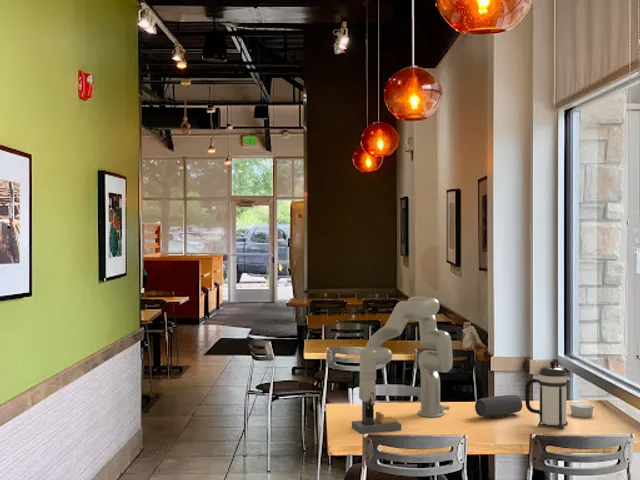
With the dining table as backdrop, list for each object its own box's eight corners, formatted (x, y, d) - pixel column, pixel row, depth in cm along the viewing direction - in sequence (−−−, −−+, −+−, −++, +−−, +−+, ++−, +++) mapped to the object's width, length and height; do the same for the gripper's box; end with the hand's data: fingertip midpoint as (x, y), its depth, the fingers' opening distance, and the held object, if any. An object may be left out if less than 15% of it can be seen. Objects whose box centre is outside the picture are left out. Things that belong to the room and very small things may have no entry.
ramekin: (586, 419, 345) (586, 408, 345) (565, 415, 353) (565, 404, 353) (598, 415, 352) (598, 404, 352) (576, 411, 360) (576, 401, 360)
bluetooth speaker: (510, 412, 360) (510, 392, 360) (523, 416, 351) (523, 395, 351) (474, 416, 350) (473, 396, 350) (486, 421, 342) (486, 400, 342)
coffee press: (558, 420, 342) (558, 357, 342) (576, 429, 326) (575, 363, 326) (524, 422, 339) (524, 359, 339) (540, 430, 323) (540, 364, 324)
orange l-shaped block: (390, 418, 334) (390, 410, 334) (397, 422, 327) (397, 414, 327) (375, 420, 332) (375, 411, 332) (381, 424, 324) (381, 415, 324)
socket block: (391, 424, 336) (391, 417, 336) (401, 430, 325) (401, 423, 325) (351, 427, 330) (351, 421, 330) (360, 434, 319) (360, 427, 319)
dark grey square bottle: (370, 421, 329) (370, 395, 329) (373, 423, 325) (373, 397, 325) (362, 422, 328) (362, 395, 328) (365, 424, 324) (365, 397, 324)
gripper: (353, 373, 333) (353, 412, 333) (367, 379, 317) (367, 421, 317) (368, 372, 336) (368, 411, 335) (382, 378, 320) (382, 419, 320)
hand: (367, 415), depth 326 cm, fingers closed on dark grey square bottle, 4 cm apart
